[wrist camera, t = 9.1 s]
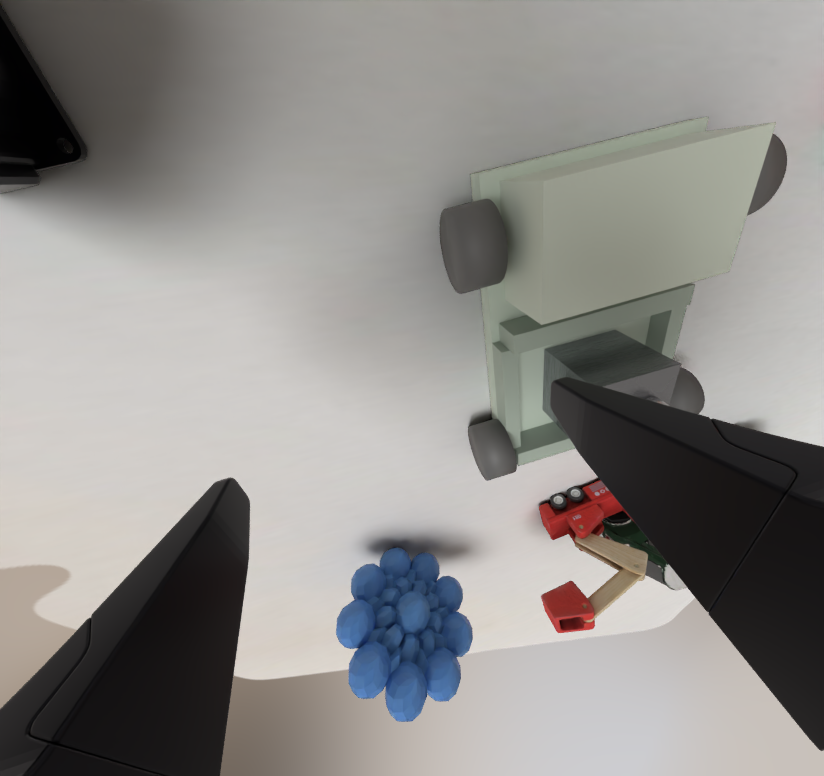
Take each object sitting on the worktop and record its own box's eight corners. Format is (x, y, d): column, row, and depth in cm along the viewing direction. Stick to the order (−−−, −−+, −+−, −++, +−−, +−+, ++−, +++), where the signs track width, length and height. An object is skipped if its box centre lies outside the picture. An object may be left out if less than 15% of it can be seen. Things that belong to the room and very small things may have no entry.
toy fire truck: (632, 481, 34) (725, 575, 26) (506, 534, 34) (561, 643, 26) (632, 460, 32) (734, 554, 24) (500, 516, 33) (556, 627, 24)
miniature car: (747, 462, 37) (839, 524, 30) (600, 544, 40) (655, 617, 33) (745, 412, 32) (853, 473, 26) (578, 509, 35) (637, 586, 28)
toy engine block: (542, 409, 25) (594, 465, 20) (544, 349, 22) (605, 397, 17) (605, 391, 25) (671, 441, 20) (615, 329, 22) (694, 371, 17)
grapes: (320, 573, 31) (316, 758, 21) (344, 525, 29) (352, 712, 19) (430, 579, 36) (469, 735, 26) (459, 538, 33) (516, 694, 23)
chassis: (431, 183, 17) (467, 185, 12) (721, 111, 18) (847, 89, 14) (472, 462, 28) (498, 514, 23) (650, 407, 29) (707, 448, 24)
